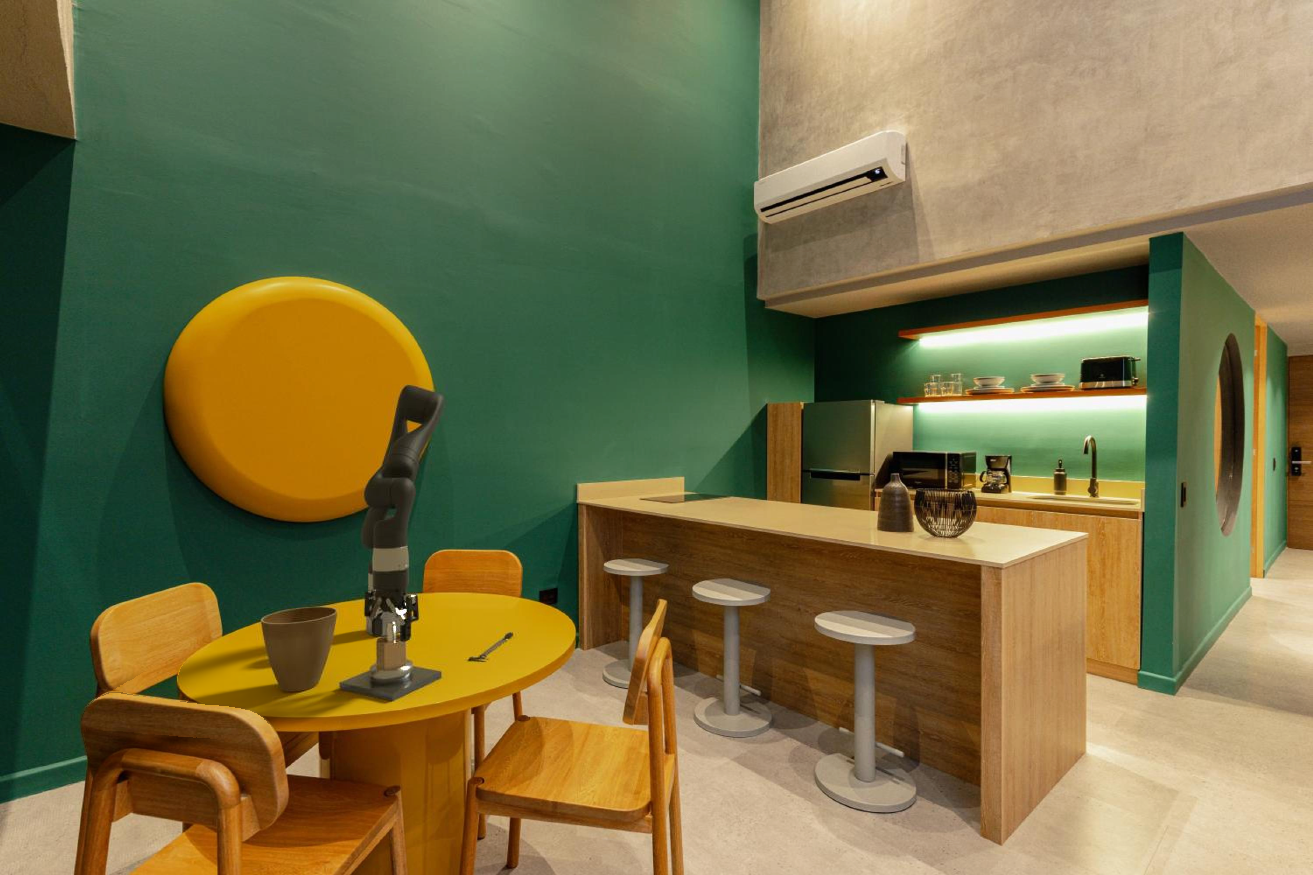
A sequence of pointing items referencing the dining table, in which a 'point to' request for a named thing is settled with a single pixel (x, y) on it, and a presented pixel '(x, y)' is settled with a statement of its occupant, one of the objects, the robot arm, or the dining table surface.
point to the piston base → (390, 688)
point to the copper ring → (390, 654)
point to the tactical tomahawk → (491, 649)
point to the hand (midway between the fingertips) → (391, 638)
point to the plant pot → (299, 645)
